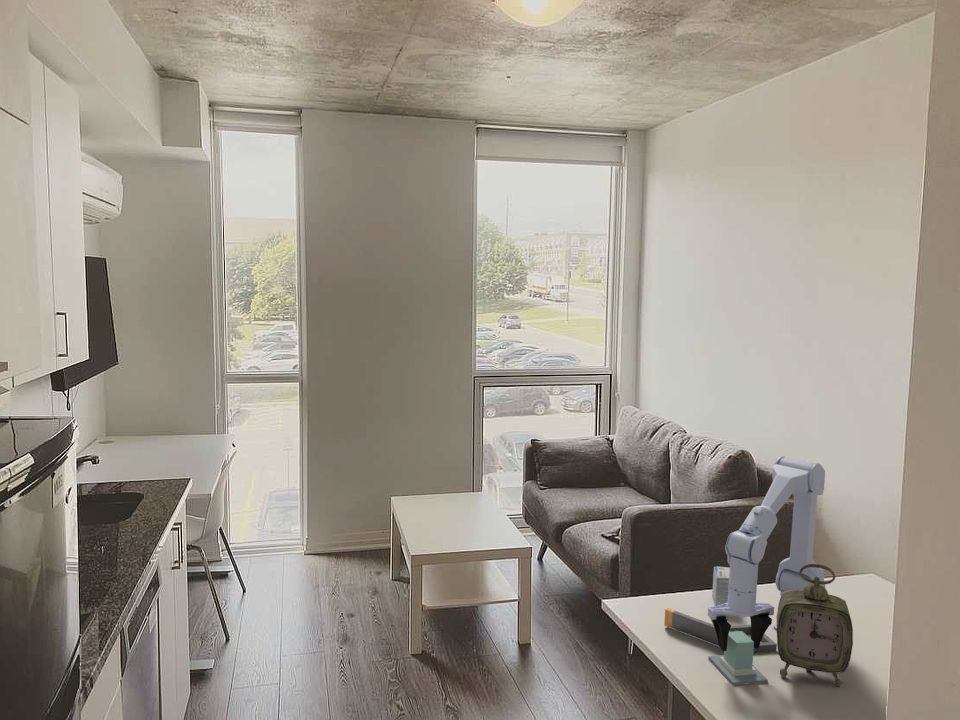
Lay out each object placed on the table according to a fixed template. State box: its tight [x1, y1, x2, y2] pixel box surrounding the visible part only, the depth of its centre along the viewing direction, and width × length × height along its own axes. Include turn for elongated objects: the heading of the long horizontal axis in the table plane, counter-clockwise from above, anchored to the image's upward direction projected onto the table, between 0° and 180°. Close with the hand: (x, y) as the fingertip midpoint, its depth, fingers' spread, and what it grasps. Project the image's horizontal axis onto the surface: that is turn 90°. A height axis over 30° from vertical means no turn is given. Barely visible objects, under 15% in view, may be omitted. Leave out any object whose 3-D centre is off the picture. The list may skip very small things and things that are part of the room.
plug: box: [719, 631, 757, 676], centre depth 164 cm, size 5×6×7 cm
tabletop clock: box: [776, 563, 854, 688], centre depth 161 cm, size 14×9×25 cm, turn 70°
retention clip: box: [664, 607, 735, 647], centre depth 177 cm, size 1×19×5 cm, turn 46°
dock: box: [729, 624, 778, 653], centre depth 177 cm, size 9×10×2 cm
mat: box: [707, 654, 769, 686], centre depth 164 cm, size 8×11×1 cm
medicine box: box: [711, 566, 730, 606], centre depth 197 cm, size 8×4×9 cm, turn 168°
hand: (738, 647), depth 163 cm, fingers open, 7 cm apart
